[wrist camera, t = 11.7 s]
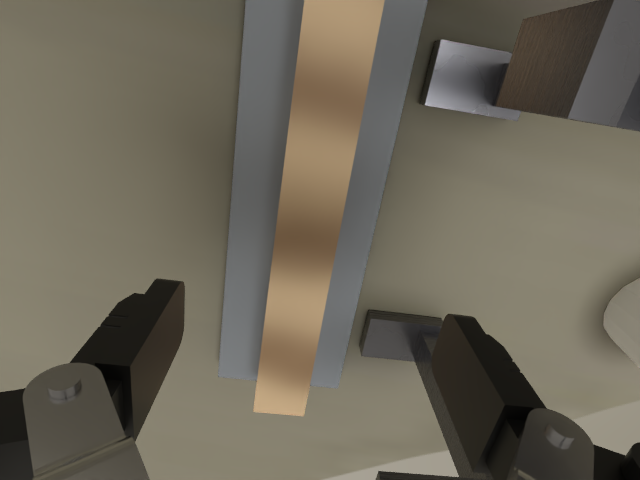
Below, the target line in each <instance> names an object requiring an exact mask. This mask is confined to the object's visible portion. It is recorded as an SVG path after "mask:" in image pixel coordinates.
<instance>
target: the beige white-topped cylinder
mask: <svg viewBox="0 0 640 480" xmlns="http://www.w3.org/2000/svg"><path fill="white" fill-rule="evenodd" d="M603 326H604V328H605V330H606V332H607V333H608V335H609V337H610V338H611V339H612V340H613V341H614V342H615V343H616V344H617V345H618V346H619V347H620V348H621V349H622V350H623V351H624V353H625V354H626V355H627V356H628V357H629V358H630V359H631V360H632V361H633V362H634V363H635V364H636V365H637V366H638V367H639V368H640V278H638V279H636V280H635V281H633V282H631V283H629V284H628V285H626V286H624V287H623V288H622V289H621V290H620V291H619V292H618V293H617V294H616V295H615V296H614V297H613V298H612V299H611V300H610V302H609V304H608V306H607V308H606V310H605V312H604V322H603Z"/></svg>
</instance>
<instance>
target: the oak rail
mask: <svg viewBox="0 0 640 480" xmlns="http://www.w3.org/2000/svg"><path fill="white" fill-rule="evenodd" d="M384 1H385V0H304V7H303V15H302V23H301V32H300V40H299V48H298V56H297V64H296V72H295V80H294V88H293V96H292V104H291V112H290V120H289V128H288V136H287V144H286V152H285V160H284V168H283V176H282V184H281V192H280V200H279V208H278V216H277V224H276V233H275V241H274V249H273V257H272V265H271V273H270V281H269V289H268V297H267V305H266V313H265V321H264V329H263V337H262V345H261V353H260V361H259V369H258V377H257V385H256V393H255V401H254V409H253V412H261V413H273V414H284V415H295V416H304V413H305V408H306V403H307V398H308V393H309V387H310V382H311V377H312V372H313V367H314V362H315V357H316V351H317V346H318V341H319V336H320V331H321V326H322V320H323V315H324V310H325V305H326V300H327V295H328V290H329V284H330V279H331V274H332V269H333V264H334V259H335V254H336V248H337V243H338V238H339V233H340V228H341V223H342V217H343V212H344V207H345V202H346V197H347V192H348V187H349V181H350V176H351V171H352V166H353V161H354V156H355V151H356V145H357V140H358V135H359V130H360V125H361V120H362V114H363V109H364V104H365V99H366V94H367V89H368V84H369V78H370V73H371V68H372V63H373V58H374V53H375V48H376V42H377V37H378V32H379V27H380V22H381V17H382V12H383V6H384Z"/></svg>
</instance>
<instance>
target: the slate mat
mask: <svg viewBox="0 0 640 480" xmlns="http://www.w3.org/2000/svg"><path fill="white" fill-rule="evenodd" d="M427 2H428V0H385V1H384V6H383V12H382V17H381V22H380V27H379V32H378V37H377V42H376V48H375V53H374V58H373V63H372V68H371V73H370V78H369V84H368V89H367V94H366V99H365V104H364V109H363V114H362V120H361V125H360V130H359V135H358V140H357V145H356V151H355V156H354V161H353V166H352V171H351V176H350V181H349V187H348V192H347V197H346V202H345V207H344V212H343V217H342V223H341V228H340V233H339V238H338V243H337V248H336V254H335V259H334V264H333V269H332V274H331V279H330V284H329V290H328V295H327V300H326V305H325V310H324V315H323V320H322V326H321V331H320V336H319V341H318V346H317V351H316V357H315V362H314V367H313V372H312V377H311V382H310V386H317V387H328V388H338V386H339V381H340V377H341V373H342V368H343V364H344V360H345V355H346V351H347V347H348V342H349V338H350V334H351V330H352V325H353V321H354V317H355V312H356V308H357V304H358V299H359V295H360V291H361V286H362V282H363V278H364V273H365V269H366V265H367V261H368V256H369V252H370V248H371V243H372V239H373V235H374V230H375V226H376V222H377V217H378V213H379V209H380V205H381V200H382V196H383V192H384V187H385V183H386V179H387V174H388V170H389V166H390V161H391V157H392V153H393V149H394V144H395V140H396V136H397V131H398V127H399V123H400V118H401V114H402V110H403V105H404V101H405V97H406V92H407V88H408V84H409V80H410V75H411V71H412V67H413V62H414V58H415V54H416V49H417V45H418V41H419V36H420V32H421V28H422V24H423V19H424V15H425V11H426V6H427ZM303 7H304V0H246V4H245V18H244V31H243V45H242V58H241V72H240V86H239V99H238V113H237V126H236V140H235V153H234V167H233V181H232V194H231V208H230V221H229V235H228V248H227V262H226V276H225V289H224V303H223V316H222V330H221V343H220V357H219V370H218V377H224V378H235V379H245V380H255V381H257V377H258V369H259V361H260V353H261V345H262V337H263V329H264V321H265V313H266V305H267V297H268V289H269V281H270V273H271V265H272V257H273V249H274V241H275V233H276V224H277V216H278V208H279V200H280V192H281V184H282V176H283V168H284V160H285V152H286V144H287V136H288V128H289V120H290V112H291V104H292V96H293V88H294V80H295V72H296V64H297V56H298V48H299V40H300V32H301V23H302V15H303Z"/></svg>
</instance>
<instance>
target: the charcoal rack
mask: <svg viewBox="0 0 640 480" xmlns="http://www.w3.org/2000/svg"><path fill="white" fill-rule="evenodd" d="M420 104H422V105H427V106H433V107H439V108H445V109H450V110H456V111H462V112H468V113H474V114H479V115H485V116H491V117H497V118H503V119H508V120H514V121H518V118H519V115H520V113H521V111H524V112H529V113H535V114H541V115H547V116H553V117H558V118H564V119H570V120H576V121H582V122H588V123H593V124H599V125H605V126H611V127H617V128H622V129H628V130H634V131H640V1H636V0H598V1H594V2H590V3H586V4H582V5H578V6H574V7H570V8H566V9H562V10H558V11H554V12H550V13H546V14H542V15H538V16H534V17H530V18H526V19H523V22H522V25H521V28H520V31H519V34H518V37H517V40H516V43H515V47H514V50H513V53H511V52H506V51H500V50H495V49H490V48H484V47H479V46H474V45H469V44H463V43H458V42H453V41H448V40H442V39H441V40H437V41H435V43H434V47H433V51H432V55H431V59H430V63H429V67H428V71H427V75H426V79H425V83H424V88H423V92H422V96H421V100H420ZM442 324H443V321H442V319H441V318H435V317H426V316H418V315H409V314H401V313H392V312H384V311H375V310H368V314H367V318H366V322H365V326H364V330H363V335H362V339H361V343H360V351H361V356H366V357H376V358H385V359H395V360H404V361H414V362H415V363H416V365H417V368H418V370H419V373H420V376H421V378H422V381H423V384H424V386H425V389H426V391H427V394H428V397H429V399H430V402H431V404H432V407H433V410H434V412H435V415H436V417H437V420H438V423H439V425H440V428H441V431H442V433H443V436H444V438H445V441H446V444H447V446H448V449H449V451H450V454H451V456H452V459H453V462H454V464H455V467H456V469H457V472H458V475H459V477H448V476H435V475H421V474H409V473H395V472H382V471H379V472H378V474H377V478H376V480H494V479H493V477H492V475H491V474H486V473H474V472H473V471H472V469H471V466H470V464H469V461H468V459H467V457H466V454H465V452H464V449H463V447H462V444H461V442H460V439H459V437H458V434H457V432H456V429H455V427H454V424H453V422H452V419H451V417H450V415H449V412H448V410H447V407H446V405H445V402H444V400H443V397H442V395H441V392H440V390H439V387H438V385H437V382H436V380H435V378H434V375H433V372H432V365H431V361H432V354H433V350H434V347H435V345H436V342H437V339H438V336H439V333H440V330H441V327H442Z"/></svg>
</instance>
